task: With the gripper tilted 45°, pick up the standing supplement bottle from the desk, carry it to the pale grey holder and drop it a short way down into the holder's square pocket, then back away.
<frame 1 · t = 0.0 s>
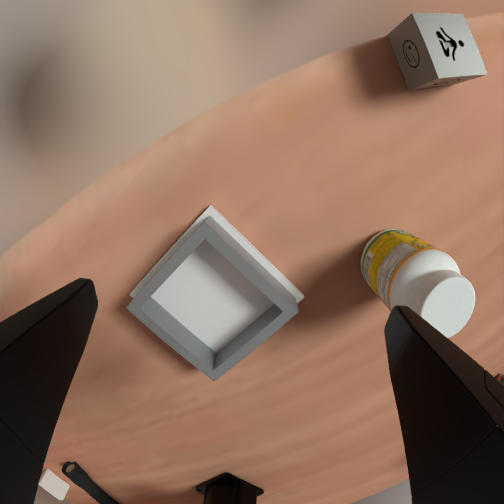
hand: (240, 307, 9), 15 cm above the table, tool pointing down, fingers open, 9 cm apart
flashlight: (105, 490, 36), on the table
supplement bottle: (388, 259, 25), on the table
eraser: (58, 477, 36), on the table
dice cube: (420, 60, 20), on the table
holder: (214, 294, 26), on the table
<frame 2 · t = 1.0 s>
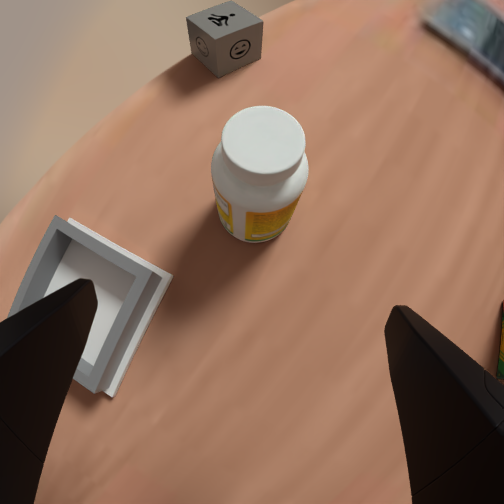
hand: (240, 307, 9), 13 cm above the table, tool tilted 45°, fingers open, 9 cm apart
supplement bottle: (255, 210, 24), on the table
dice cube: (225, 56, 28), on the table
holder: (88, 304, 22), on the table
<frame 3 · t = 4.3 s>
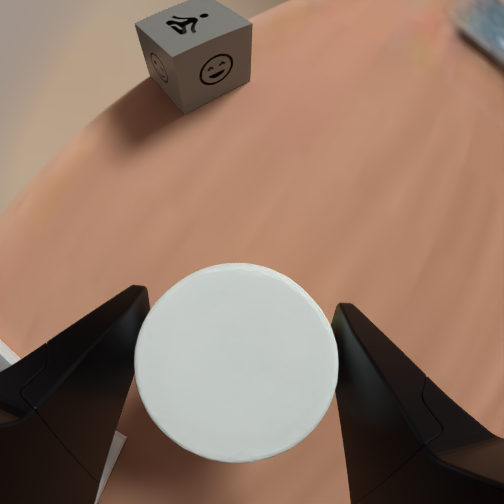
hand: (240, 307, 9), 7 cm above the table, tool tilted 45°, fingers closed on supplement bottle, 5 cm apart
supplement bottle: (238, 348, 15), on the table, touching gripper
dice cube: (198, 79, 19), on the table
holder: (31, 448, 13), on the table
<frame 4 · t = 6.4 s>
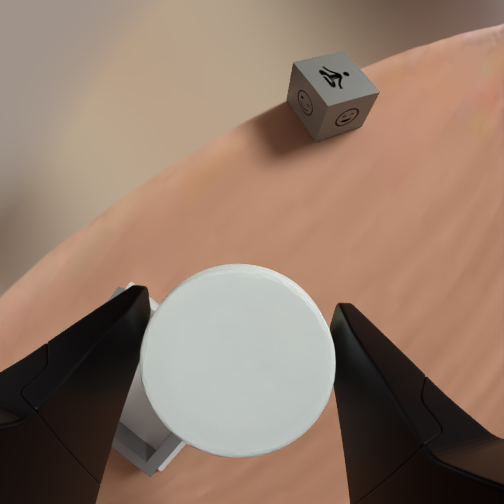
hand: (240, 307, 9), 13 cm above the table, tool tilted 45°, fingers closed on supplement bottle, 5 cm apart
supplement bottle: (240, 345, 15), point 6 cm above the table, touching gripper
dice cube: (323, 114, 26), on the table
holder: (145, 380, 21), on the table
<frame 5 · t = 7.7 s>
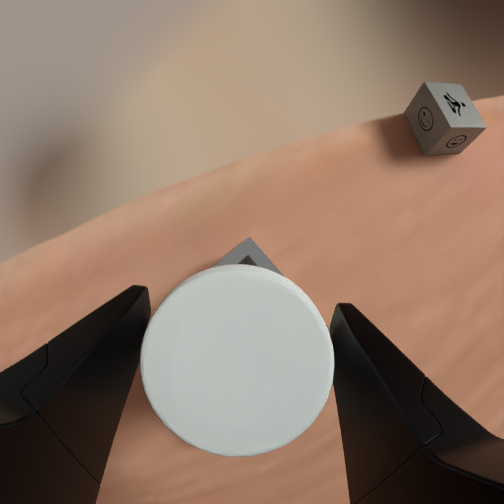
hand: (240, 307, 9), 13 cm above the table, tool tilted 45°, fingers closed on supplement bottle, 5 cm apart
supplement bottle: (239, 345, 16), point 6 cm above the table, touching gripper
dice cube: (431, 134, 27), on the table
holder: (240, 340, 21), on the table
when the fingers open (11 cm above the table, at t = 8.6 s): supplement bottle drops 4 cm, resting on holder.
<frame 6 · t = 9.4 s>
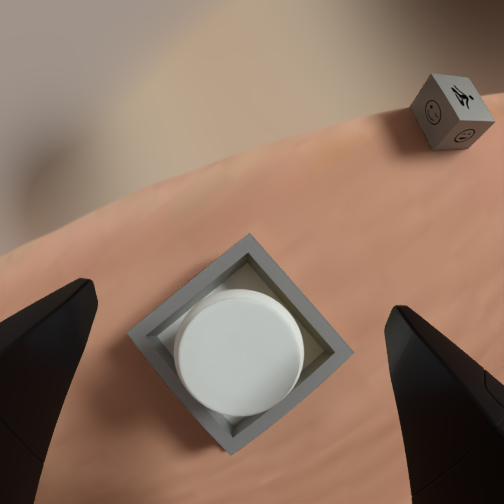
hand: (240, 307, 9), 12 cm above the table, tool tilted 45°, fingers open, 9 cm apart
supplement bottle: (239, 347, 19), resting on holder
dice cube: (438, 128, 25), on the table
holder: (240, 345, 20), on the table
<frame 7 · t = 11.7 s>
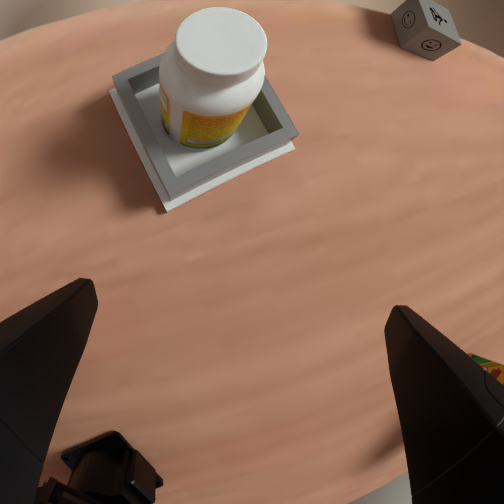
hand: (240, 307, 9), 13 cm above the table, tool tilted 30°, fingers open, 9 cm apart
supplement bottle: (199, 117, 21), resting on holder
crayon box: (452, 383, 28), on the table
dice cube: (411, 38, 26), on the table
holder: (200, 118, 21), on the table
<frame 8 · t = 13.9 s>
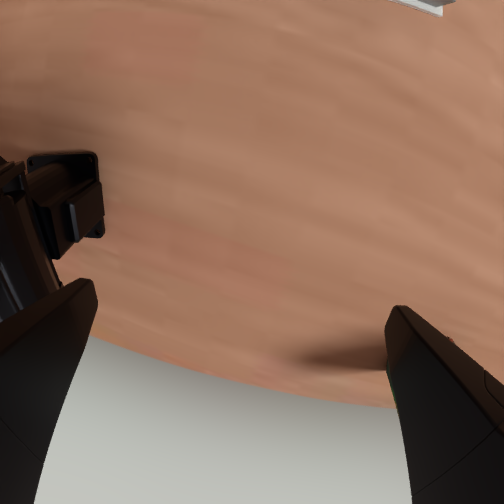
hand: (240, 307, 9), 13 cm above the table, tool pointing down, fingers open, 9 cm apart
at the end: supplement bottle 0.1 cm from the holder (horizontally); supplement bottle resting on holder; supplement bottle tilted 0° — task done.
